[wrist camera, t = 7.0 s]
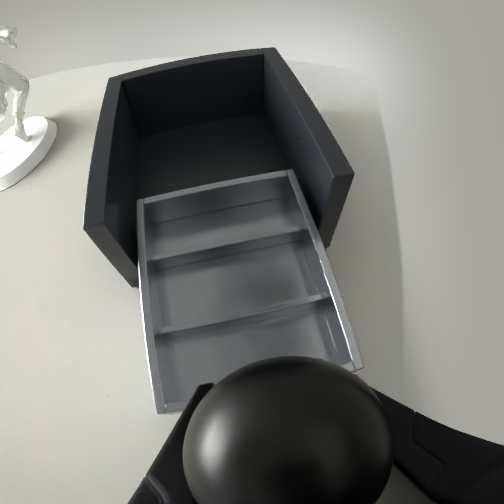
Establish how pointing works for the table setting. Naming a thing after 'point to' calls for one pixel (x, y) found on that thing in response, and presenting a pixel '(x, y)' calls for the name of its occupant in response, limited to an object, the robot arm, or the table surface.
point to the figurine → (20, 125)
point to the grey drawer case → (206, 142)
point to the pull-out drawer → (257, 347)
